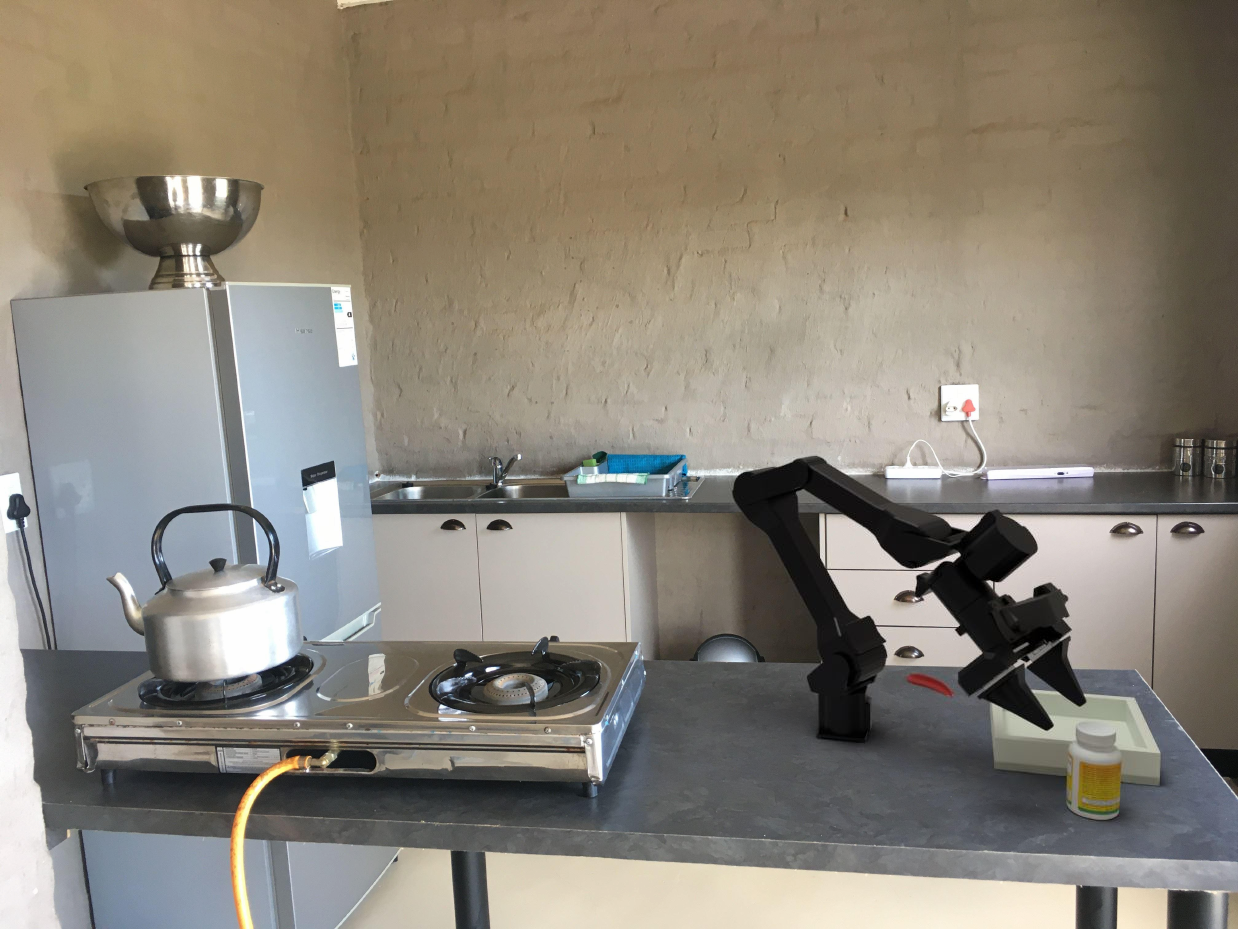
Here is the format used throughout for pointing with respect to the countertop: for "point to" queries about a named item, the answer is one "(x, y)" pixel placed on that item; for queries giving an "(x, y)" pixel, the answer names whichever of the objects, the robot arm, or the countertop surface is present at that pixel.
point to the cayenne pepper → (929, 683)
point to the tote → (1048, 750)
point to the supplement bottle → (1094, 772)
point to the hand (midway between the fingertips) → (1067, 716)
